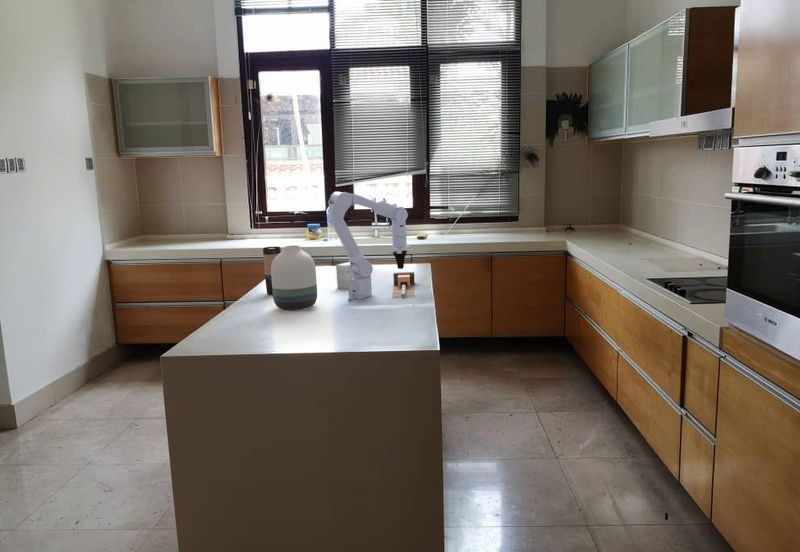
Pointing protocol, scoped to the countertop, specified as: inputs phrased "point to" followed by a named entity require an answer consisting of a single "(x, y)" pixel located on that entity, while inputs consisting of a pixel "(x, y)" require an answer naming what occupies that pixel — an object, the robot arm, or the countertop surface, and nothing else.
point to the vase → (294, 279)
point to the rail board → (404, 286)
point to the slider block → (403, 280)
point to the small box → (344, 275)
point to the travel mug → (269, 265)
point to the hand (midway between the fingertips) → (400, 268)
